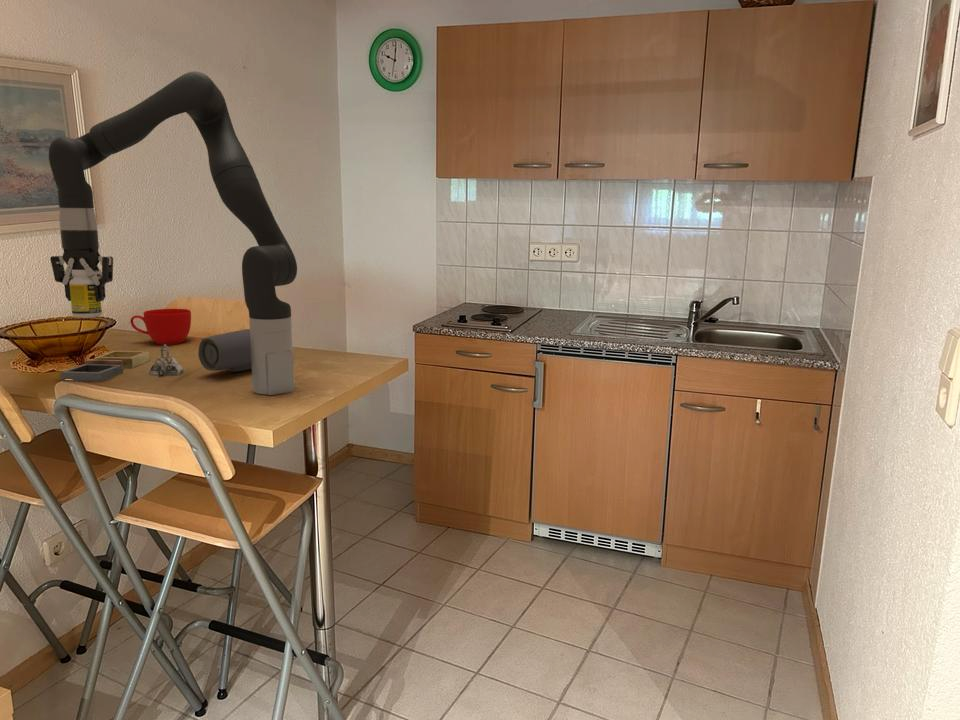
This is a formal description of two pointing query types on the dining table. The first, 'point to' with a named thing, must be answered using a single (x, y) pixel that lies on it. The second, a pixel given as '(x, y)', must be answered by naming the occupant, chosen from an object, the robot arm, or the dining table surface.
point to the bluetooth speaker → (226, 351)
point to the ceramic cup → (166, 325)
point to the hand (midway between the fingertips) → (85, 300)
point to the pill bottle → (83, 295)
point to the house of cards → (163, 368)
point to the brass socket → (127, 357)
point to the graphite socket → (92, 372)
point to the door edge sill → (105, 362)
